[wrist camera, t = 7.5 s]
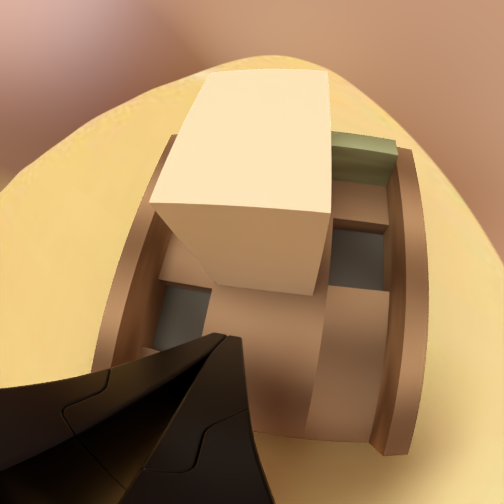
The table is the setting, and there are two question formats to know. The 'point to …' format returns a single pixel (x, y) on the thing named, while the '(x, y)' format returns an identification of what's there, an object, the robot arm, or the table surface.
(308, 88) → the cream block
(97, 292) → the table surface
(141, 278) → the tray
